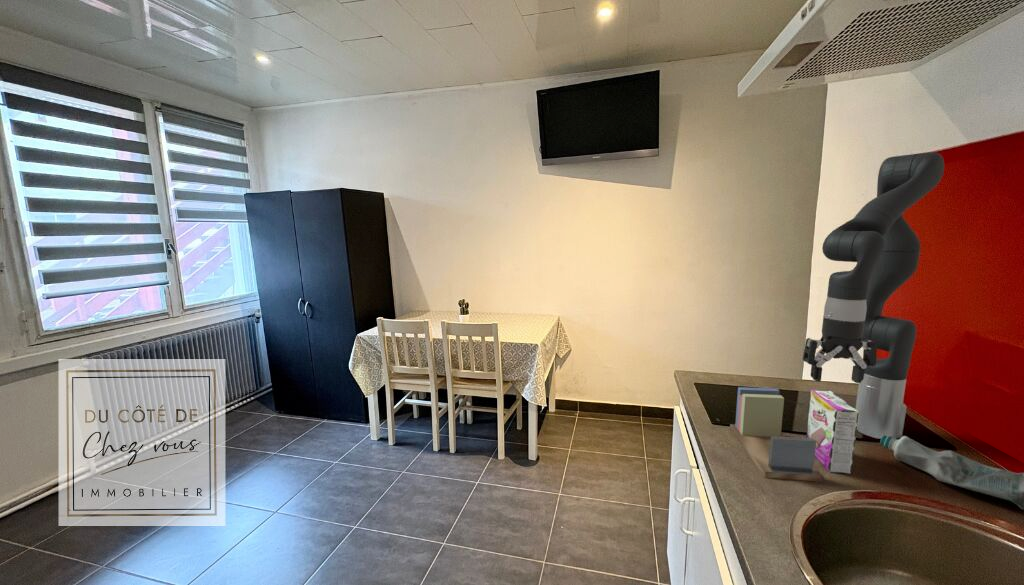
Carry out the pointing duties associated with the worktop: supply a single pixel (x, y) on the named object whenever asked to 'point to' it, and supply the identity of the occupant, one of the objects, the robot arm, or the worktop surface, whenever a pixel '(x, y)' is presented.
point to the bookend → (792, 455)
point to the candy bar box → (832, 430)
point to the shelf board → (767, 456)
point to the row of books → (759, 412)
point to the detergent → (959, 469)
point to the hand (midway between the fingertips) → (835, 381)
